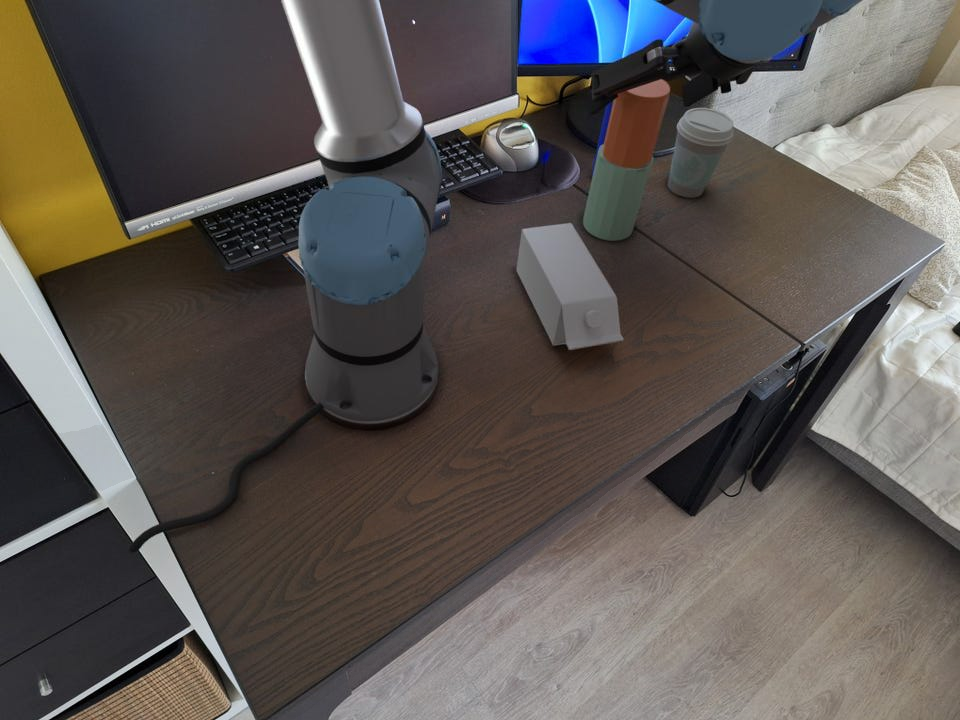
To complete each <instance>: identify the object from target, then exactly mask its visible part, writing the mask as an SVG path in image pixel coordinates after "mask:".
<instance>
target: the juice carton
mask: <svg viewBox="0 0 960 720" xmlns="http://www.w3.org/2000/svg"><path fill="white" fill-rule="evenodd" d="M520 234H521V235H520V241H519V248H518V254H517V263H516V269H515V270H516V273H517V274H518V277H519V279H520V281H521V283H522V285H523V287H524V289H525V292H526V293H527V295H528V297H529V300H530V301H531V304H532V305H533V308H534V310H535V311H536V314H537V315H538V319H539V320H540V322H541V324H542V326H543V328H544V330H545V332H546V334H547V336H548V339H549V340H550V342H551V345H552V347H554V346H555V347H556V346H560V345H561V346H562V345H566V347H567V350H568V351H572V350H573V351H574V350H580V349H584V348H590V347H596V346H602V345H607V344H613V343H619V342H624V341H625V338H624V337H623V335H622V334H621V326H620V316H619V315H620V314H619V305H618V297H617V295H616V293H615V292H614V290H613V289H612V287H611V285H610V283H609V282H608V280H607V279H606V277H605V275H604V273H603V272H602V270H601V269H600V268H599V266H598V264H597V262H596V261H595V259H594V258H593V256H592V254H591V252H590V251H589V249H588V248H587V246H586V245H585V243H584V242H583V241H584V240H583V239H582V238H581V236H580V234H579V233H578V231H577V230H576V228H575V227H574V225H573V223H571V222H567V223H558V224H552V225H551V224H550V225H543V226H535V227H527V228H522V229H521V233H520Z"/></svg>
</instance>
